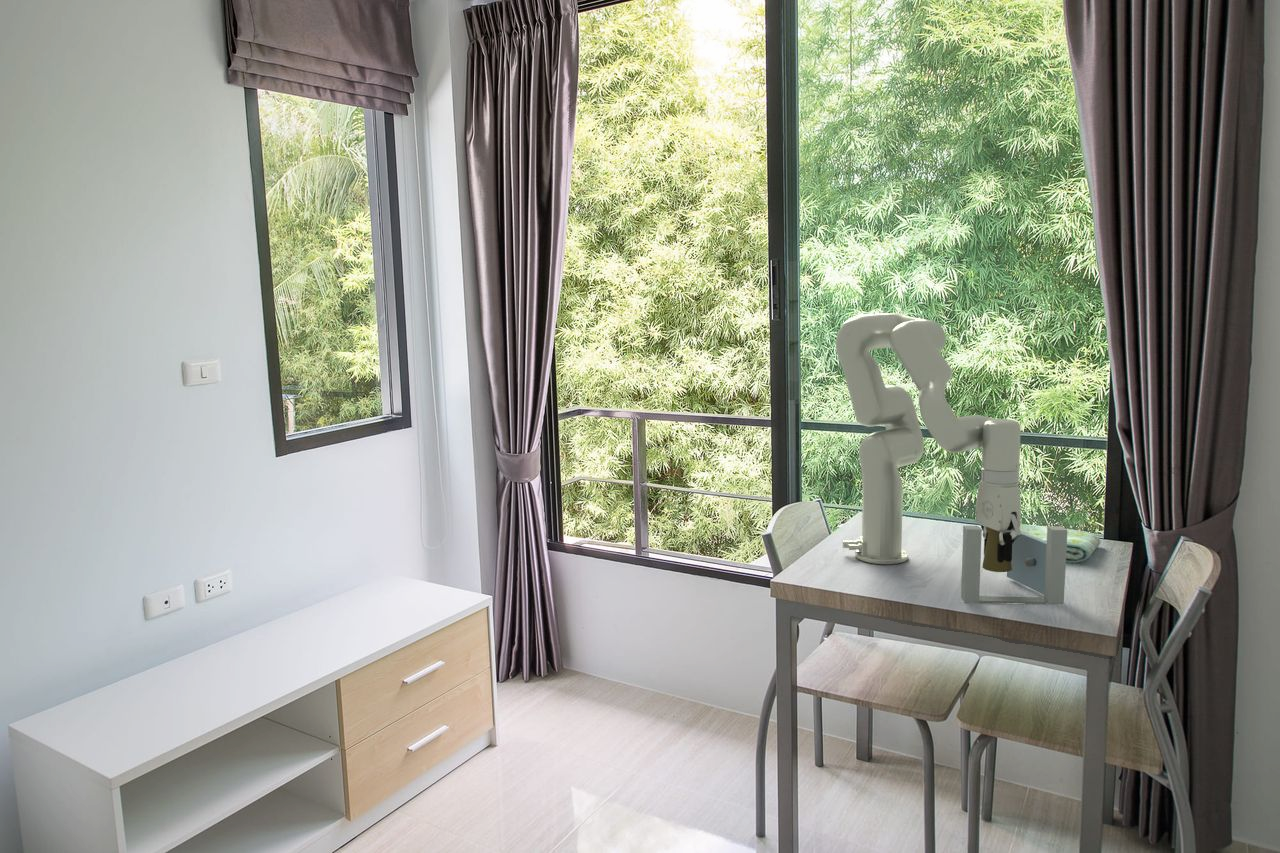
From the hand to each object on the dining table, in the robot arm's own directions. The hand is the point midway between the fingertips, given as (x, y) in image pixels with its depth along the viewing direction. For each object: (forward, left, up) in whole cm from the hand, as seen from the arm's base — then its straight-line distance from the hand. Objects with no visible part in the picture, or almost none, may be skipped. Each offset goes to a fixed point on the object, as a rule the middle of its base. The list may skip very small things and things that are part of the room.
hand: (997, 557), depth 195 cm
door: (+6, 0, -6) cm, 9 cm away
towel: (+20, +30, -8) cm, 37 cm away
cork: (0, 0, -2) cm, 3 cm away
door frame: (+1, -8, -7) cm, 11 cm away
